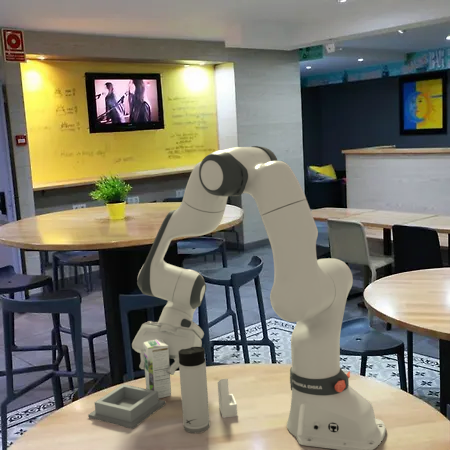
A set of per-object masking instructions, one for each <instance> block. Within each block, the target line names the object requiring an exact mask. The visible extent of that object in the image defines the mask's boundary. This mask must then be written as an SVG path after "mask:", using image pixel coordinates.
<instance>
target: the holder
mask: <svg viewBox="0 0 450 450" xmlns="http://www.w3.org/2000/svg"><path fill="white" fill-rule="evenodd" d="M166 402H167V401H166V400H164V399H160V398H159V399H158V391H153V390H149V389H146V388H143V387H139V386H134V385H129V384H125V383H122V384H121V385H119V386H117V387H116V388H114V389H113V390H112V391H110V392H108V393H106V394H105V395H104V396H102V397H100V398H99V399H97V400H96V401H94V410H93V411H91V412H90V413H88V414H87V416H88V417H89V419H93V420H96V421H100V422H104V423H108V424H113V425H116V426H119V427H123V428H127V429H131V430H133V429H135V428H136V427H137V426H138V425H140V424H141V423H143V422H144V421H145V420H147V418H149V417H151V416H152V415H153V414H154V413H155V412H157V411H158V410H160V409H161V408H162V407H164V406H165V405H167V403H166ZM88 417H87V418H88Z"/></svg>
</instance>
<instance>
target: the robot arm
mask: <svg viewBox="0 0 450 450" xmlns="http://www.w3.org/2000/svg"><path fill="white" fill-rule="evenodd" d="M184 190H185V191H184V193H183V196H182V197H183V198H182V201H181V204H180V205H179V206H178V207H177V209H174V210H170V211H169V212H168V213H167V214H166V215H165V218H164V219H163V221H162V222H161V225H160V227H159V229H158V231H157V234H156V236H155V238H154V241H153V243H152V246H151V247H150V250H149V253H148V255H147V256H146V259H145V261H144V263H143V264H142V267H141V269H139V272H138V273H137V274H138V275H137V279H136V281H137V282H136V284H137V287H138V288H139V290H140V292H141V293H142V294H143V295H146V296H149V297H155V298H159V299H160V300H165V301H167V302H166V305H165V306H164V307H163V308H162V312H161V314H160V316H159V319H158V320H157V321H152V320H148V321H147V322H144V323H142V324H141V326H140V328H139V330H138V331H137V333H136V335H135V337H134V339H133V340H132V343H131V347H132V349H133V350H134V351H135V352H137V353H139V356H140V364H139V366H138V367H139V369H141V370H145V362H144V346H143V343H144V342H147V341H151V340H159V339H163V340H164V341H165V342H166V344H167V345H168V351H169V359H173V360H174V362H173V363H172V364H171V365H169V366H168V369H167V371H166V372H167V373H168V374H170V376H173V375H175V372H176V371H177V369H178V368H179V353H178V352H179V351H180V350H181V349H188V348H191V347H202V345H203V344H202V342H203V341H202V339H203V338H204V335H205V333H204V331H203V329H202V328H201V327H200V326H199V325H198V324H197V323H196V322H195V321H193V319H194V318H193V317H194V313H195V311H196V310H197V308H198V307H200V306H201V305H202V302H203V299H204V297H205V295H206V291H207V283H206V282H205V278H204V277H203V275H201V273H199V272H198V271H196V270H193V269H189V268H188V269H186V268H183V267H179V266H176V265H173V264H170V263H167V262H166V261H165V260H164V258H165V255H166V254H167V251H168V249H169V246H170V244H171V242H172V240H174V239H177V238H183V237H184V238H185V237H201V236H204V235H207V234H210V233H212V232H214V231H215V230H216V229H217V228H218V227H219V226H220V224H221V222H222V220H223V217H224V214H225V210H226V206H227V202H228V199H229V197H239V196H241V195H243V194H248V195H250V196H251V198H253V199H254V202H255V204H256V206H257V210H258V212H259V215H260V216H261V220H262V223H263V226H264V229H265V232H266V235H267V238H268V240H269V244H270V246H271V251H272V258H273V271H274V272H273V273H274V276H273V277H274V279H273V284H272V287H271V290H270V295H269V296H270V297H269V299H270V305H271V307H272V310H273V311H274V313H275V314H276V315H277V317H279V318H280V319H282V320H283V321H286V322H289V323H296V324H295V327H294V328H293V330H292V333H291V337H290V353H291V354H290V355H291V366H290V370H289V372H290V373H289V384H290V391H291V399H290V410H289V415H288V419H287V422H286V427H287V430H288V431H289V433H291V434H292V436H294V437H295V438H296V440H297V442H298V444H299V445H301V446H307V447H313V448H315V447H316V448H323V449H332V450H375V449H376V448H377V447H379V446H380V444H381V443H382V442H383V440H384V439H385V436H386V432H387V431H386V424H385V423H384V421H383V420H381V419H380V418H376V415H375V409H374V407H373V405H372V403H371V402H370V401H369V400H368V399H367V398H366V397H364V396H363V395H362V394H361V393H359V392H358V391H357V390H355V388H353V387H352V386H351V385H350V384H349V381H350V380H349V378H350V377H351V371H347V373H345V371H343V369H342V367H341V353H340V352H341V350H340V349H341V346H340V345H341V343H340V341H341V340H340V339H341V332H342V331H341V329H342V325H343V320H344V319H343V318H344V316H345V315H344V313H345V311H346V310H345V309H346V303H347V300H348V299H347V298H348V296H349V294H350V291H351V289H352V286H353V283H354V282H353V281H354V279H353V272H352V270H351V269H350V267H349V266H348V264H346V263H345V261H343V260H341V259H338V258H336V257H335V258H334V257H333V258H330V257H329V258H319V259H318V257H317V239H318V235H319V232H318V231H319V230H318V227H317V225H316V221H315V219H314V217H313V213H312V211H311V208H310V205H309V203H308V200H307V197H306V194H305V192H304V190H303V188H302V185H301V183H300V182H299V180H298V178H297V176H296V175H295V173H294V171H293V170H292V168H291V166H290V165H289V164H288V163H286V162H284V161H281V160H278V158H277V157H276V155H275V153H274V152H273V151H272V150H271V149H269V148H267V147H265V146H259V145H253V146H236V147H235V146H234V147H230V148H226V149H222V150H220V149H219V150H215V151H213V152H210V153H209V154H207V155H206V156H205V157H203V158H202V160H201V161H199V162H198V163H196V164H195V166H194V167H193V169H192V170H191V173H190V176H189V178H188V180H187V184H186V186H185V189H184ZM381 441H382V442H381ZM378 445H379V446H378Z"/></svg>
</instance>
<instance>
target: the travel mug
mask: <svg viewBox="0 0 450 450" xmlns="http://www.w3.org/2000/svg"><path fill="white" fill-rule="evenodd" d="M178 353H179V367H178V368H179V383H180V397H181V407H182V409H181V410H182V423H183V425H182V426H183V430H184V431H186V432H187V433H190V434H200V433H204V432H206V431H208V429H209V428H210V425H211V424H210V411H209V410H210V409H209V398H208V397H209V396H208V395H209V393H208V378H207V365H206V351H205V348H204V347H202V346H201V347H191V348H188V349H181V350H180V351H179V352H178Z"/></svg>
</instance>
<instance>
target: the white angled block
mask: <svg viewBox="0 0 450 450" xmlns="http://www.w3.org/2000/svg"><path fill="white" fill-rule="evenodd" d="M217 391H218V395H217V396H218V407H219V411H220V414H221V417H222V418H223V419H224V418H231V417H237V416H238V405H237V401H236V399H235V396H234V394H233V393H230V392H229V391H230V389H229V378H221V379H219V380H218V382H217Z"/></svg>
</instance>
